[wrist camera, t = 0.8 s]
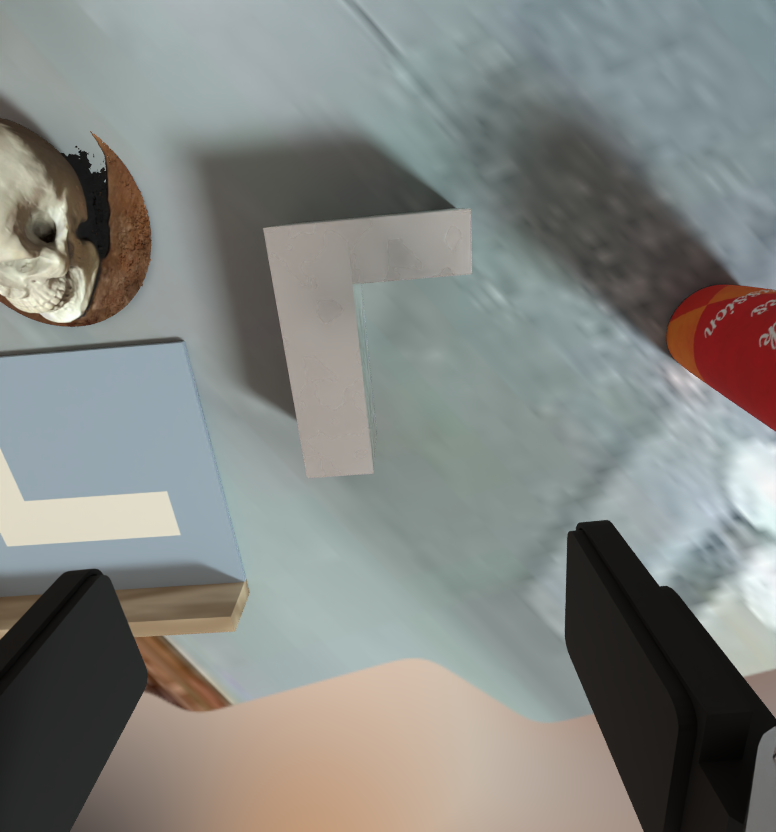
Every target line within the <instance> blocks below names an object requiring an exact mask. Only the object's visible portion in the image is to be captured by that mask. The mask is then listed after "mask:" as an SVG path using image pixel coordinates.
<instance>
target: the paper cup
mask: <svg viewBox="0 0 776 832" xmlns="http://www.w3.org/2000/svg"><path fill="white" fill-rule="evenodd" d="M666 341H667V346H668V349H669V352H670V354H671V355H672V357H673V358H674V359H675V360H676V361H677V362H678V363H679V364H680V365H682V366H683V367H684V368H685V369H687V370H688V371H689V372H691V373H692V374H693V375H695V376H696V377H698V378H699V379H701V380H702V381H703V382H705V383H706V384H708V385H709V386H710V387H712V388H713V389H715V390H716V391H718V392H719V393H721V394H722V395H723V396H725V397H726V398H728V399H729V400H731V401H732V402H734V403H735V404H736V405H738V406H739V407H741V408H742V409H744V410H745V411H747V412H748V413H749V414H751V415H752V416H754V417H755V418H757V419H758V420H760V421H761V422H763V423H764V424H765V425H767V426H768V427H770V428H771V429H773V430H774V431H776V290H772V289H764V288H756V287H748V286H739V285H713V286H709V287H706V288H703V289H701V290H698V291H697V292H695V293H693V294H692V295H690V296H689V297H688V298H686V299H685V300H684V301H683V302H682V303H681V304H680V305H679V306H678V308H677V309H676V310H675V312H674V313H673V315H672V317H671V319H670V322H669V324H668V328H667V334H666Z"/></svg>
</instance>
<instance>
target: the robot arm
mask: <svg viewBox="0 0 776 832" xmlns="http://www.w3.org/2000/svg"><path fill="white" fill-rule="evenodd" d="M565 640H566V646H567V649H568V653H569V655H570V658H571V660H572V663H573V665H574V667H575V670H576V672H577V674H578V677H579V679H580V682H581V684H582V686H583V689H584V691H585V693H586V696H587V698H588V700H589V703H590V705H591V708H592V710H593V712H594V715H595V717H596V719H597V722H598V724H599V727H600V729H601V731H602V734H603V736H604V738H605V741H606V743H607V745H608V748H609V750H610V753H611V755H612V757H613V759H614V762H615V765H616V767H617V769H618V772H619V774H620V776H621V779H622V781H623V784H624V786H625V788H626V791H627V793H628V795H629V798H630V800H631V802H632V805H633V807H634V810H635V812H636V814H637V817H638V819H639V821H640V824H641V826H642V829H643V831H644V832H776V719H775V717H774V716H773V715H772V713H771V712H770V711H769V710H768V708H767V707H766V706H765V704H764V703H763V702H762V701H761V699H760V698H759V697H758V696H757V694H756V693H755V692H754V690H753V689H752V688H751V687H750V686H749V684H748V683H747V682H746V680H745V679H744V678H743V676H742V675H741V674H740V673H739V671H738V670H737V669H736V668H735V666H734V665H733V664H732V662H731V661H730V660H729V659H728V657H727V656H726V655H725V654H724V652H723V651H722V650H721V648H720V647H719V646H718V645H717V643H716V642H715V641H714V640H713V638H712V637H711V636H710V634H709V633H708V632H707V631H706V629H705V628H704V627H703V626H702V624H701V623H700V622H699V621H698V619H697V618H696V617H695V615H694V614H693V613H692V612H691V610H690V609H689V608H688V607H687V605H686V604H685V603H684V601H683V600H682V599H681V598H680V596H679V595H678V594H677V593H676V592H675V591H674V590H673V589H672V588H670V587H668V586H659V585H658V584H657V582H656V581H655V580H654V578H653V577H652V576H651V574H650V573H649V572H648V570H647V569H646V568H645V566H644V565H643V564H642V562H641V561H640V560H639V559H638V557H637V556H636V555H635V553H634V552H633V551H632V549H631V548H630V547H629V545H628V544H627V543H626V541H625V540H624V539H623V537H622V536H621V535H620V533H619V532H618V531H617V529H616V528H615V527H614V525H613V524H612V523H611V522H610V521H608V520H602V521H592V522H581V523H578V524H577V527H576V531H569V532H568V537H567V570H566V608H565ZM147 677H148V676H147V669H146V666H145V664H144V661H143V659H142V656H141V654H140V651H139V649H138V646H137V644H136V641H135V639H134V636H133V634H132V631H131V629H130V626H129V624H128V621H127V619H126V616H125V614H124V611H123V609H122V607H121V604H120V602H119V599H118V597H117V594H116V592H115V589H114V587H113V584H112V582H111V580H110V578H109V577H108V576H107V575H103V573H102V572H101V571H100V570H99V569H84V570H73V571H67V572H64V573H63V574H62V575H61V576H60V577H59V578H58V579H57V580H56V581H55V582H54V583H53V584H52V585H51V586H50V587H49V588H48V589H47V590H46V591H45V592H44V594H43V595H42V596H41V597H40V598H39V599H38V600H37V601H36V602H35V603H34V604H33V605H32V606H31V607H30V608H29V610H28V611H27V612H26V613H25V614H24V615H23V616H22V617H21V618H20V619H19V620H18V621H17V622H16V623H15V624H14V625H13V627H12V628H11V629H10V630H9V631H8V632H7V633H6V634H5V635H4V636H3V637H2V638H1V639H0V832H70V830H71V828H72V826H73V824H74V822H75V821H76V819H77V817H78V815H79V813H80V811H81V809H82V807H83V806H84V803H85V802H86V800H87V798H88V796H89V794H90V792H91V790H92V788H93V787H94V785H95V783H96V781H97V779H98V777H99V775H100V773H101V771H102V770H103V768H104V766H105V764H106V762H107V760H108V758H109V756H110V754H111V752H112V751H113V749H114V747H115V745H116V743H117V741H118V739H119V737H120V735H121V733H122V732H123V730H124V728H125V726H126V724H127V722H128V720H129V718H130V716H131V714H132V713H133V711H134V709H135V707H136V705H137V703H138V701H139V699H140V697H141V695H142V694H143V692H144V690H145V687H146V684H147Z"/></svg>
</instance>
